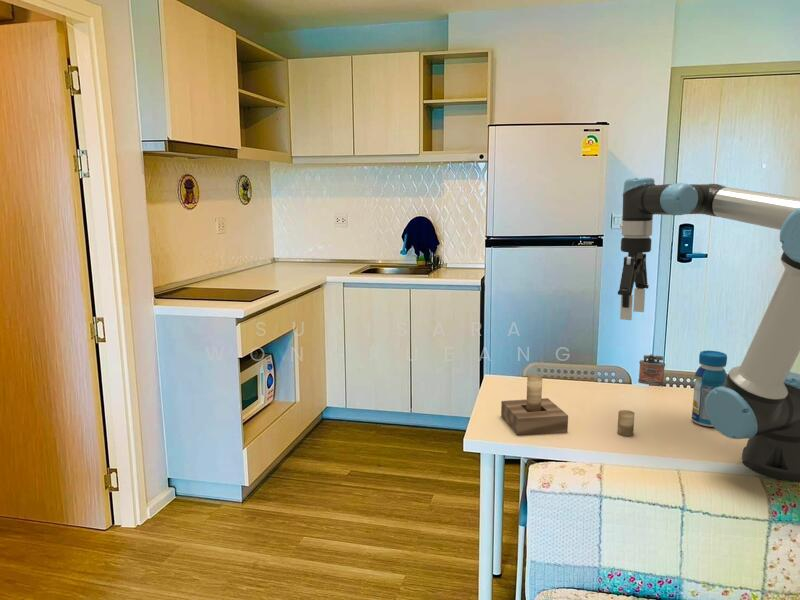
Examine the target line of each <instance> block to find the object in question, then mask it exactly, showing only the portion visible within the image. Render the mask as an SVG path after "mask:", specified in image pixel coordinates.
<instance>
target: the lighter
mask: <svg viewBox="0 0 800 600" xmlns="http://www.w3.org/2000/svg"><path fill="white" fill-rule="evenodd" d="M660 361H661V362H660ZM662 361H664V356H662V355H654V354H653V353H651V354H644V355H643V360H642V359H641V360H639V361H638V362H639V373H638V374H639V375H638V381H637V382H638V383H639V384H643V385H649V386H657V387H658V386H659V387H662V386H663V387H664V385H665V382H664V379H665V369H666V368H665V367H666V363H665V362H662Z"/></svg>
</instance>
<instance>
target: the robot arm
mask: <svg viewBox="0 0 800 600" xmlns="http://www.w3.org/2000/svg"><path fill="white" fill-rule="evenodd" d="M655 183H656V182H655V179H654V178H653V177H630V178H627V179H625V181H624V184H623V192H622V213H621V214H622V218H621V220H622V223H621V224H620V225H619V227H620V228H621V236H623V237H622V238H620V251H621V252H623V253H628V254H627V256H623V264H622V265H623V267H622V273H621V278H620V282H619V283H620V285H619V289H618V291H617V295H619V296H620V311H619V312H620V313H619V314H620V316H619V319H620V320H624V321H632V319H633V318H632V317H633V316H632V315H633V312H635V313H637V312H638V313H644V312H645V299H646V289H649V287H650V285H649V284H648V273H647V253H649V252H651V250H652V238H651V236H653V224H654V223H653V221H654V219H653V218H654V216H655V215H658V216H659V215H660V216H661V215H662V216H664V215H665V216H667V215H668V216H683V215H706V216H710V217H717V218H723V219H727V220H730V221H731V220H733V221H737V222H740V223H746V224H750V225H755V226H760V227H765V228H768V229H774V230H779V242H781V249H782V251H783V252H782V254H781V257H780V262H781V264H782V265H783V267H784V271H783V274H782V275H781V277H780V279H779V281H778V284H777V286H776V288H775V291H774V293H773V295H772V297H771V300H770V301H769V303H768V306H767V308H766V310H765V312H764V314H763V317H762V319H761V321H760V323H759V325H758V326H757V327H758V328H757V330H756V332H755V333H754V335H753V338H752V340H751V342H750V345H749V347H748V349H747V351H746V354H745V355H744V358H743V360H742V362H741V364H740V365H739V366H735V367H732V368H730V370H729V371H728V373H727V375H728V376H727V378H726V380H725V382H724V384H723V386H722V387H721V386H720V387H716V388H715V389H713V390H712V391H710V392H709V394H708V395H707V397H706V401H705V409H706V413H707V415H708V416H709V420H710V422H711V424H712V425H713V426H714V427H713V428H714V429H715V430H716V431H717V432H718V433H720V434H721V435H723V436H725V437H726V438H729V439H732V440H744V439H747V443H746V445H745V447H744V448H743V449H742V452H741V462H742V463H741V464H742V465H743V466H745V467H746V468H747V469H748V470H750V471H753V472H754V473H756V474H758V475H761V476H763V477H764V476H765V477H767V478H770V479H775V480H779V479H780V480H781V481H784V480H789V481H788V482H793V481H795V482H796V483H797V482H799V483H800V373H797V372H796V373H795V372H791V369H792V367H794V364H795V361H796V360H797V358H798V356H799V354H800V197H794V196H788V195H782V194H781V195H779V194H775V193H767V192H762V191H761V192H760V191H755V190H748V189H743V188H742V189H741V188H734V187H730V186H729V187H728V186H726V185H724V184H718V183H707V184H706V183H705V184H703V183H702V184H697V183H694V184H691V183H683V182H680V183H676V182H675V183H668V184H655ZM634 285H635V288H634ZM633 290H634V291H633ZM633 292H634V293H633ZM632 294H633V295H632ZM795 482H794V483H795Z"/></svg>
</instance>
